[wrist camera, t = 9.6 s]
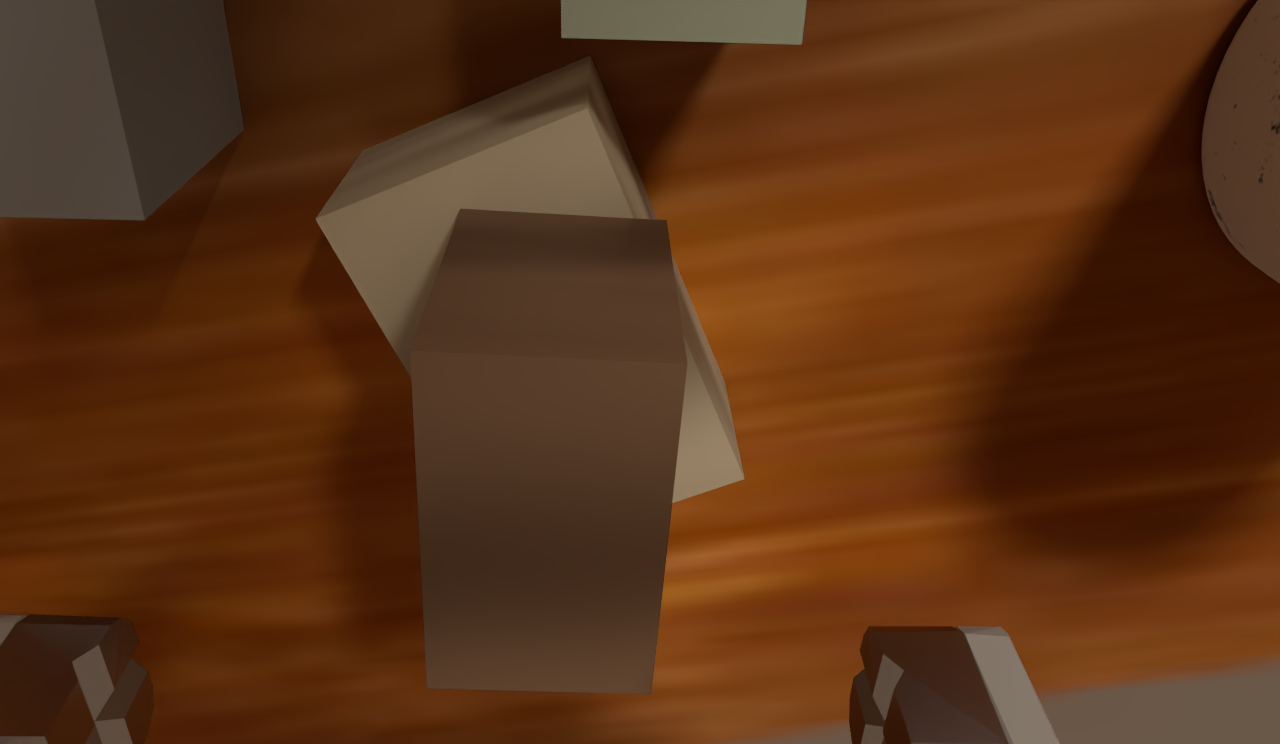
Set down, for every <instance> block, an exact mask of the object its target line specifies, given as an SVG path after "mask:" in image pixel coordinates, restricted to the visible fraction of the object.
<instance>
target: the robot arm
mask: <svg viewBox="0 0 1280 744" xmlns="http://www.w3.org/2000/svg"><path fill="white" fill-rule="evenodd" d="M138 643H139V640H138V638H137V635H136V632H135V629H134V627H133V624H132V621H131V620H128V619H124V618H116V617H89V616H62V615H35V614H30V615H13V614H0V744H144V742H145V739H146V737H147V735H148V731H149V726H150V721H151V717H152V712H153V707H154V705H153V686H152V683H151V679H150V676H149V672H148V670H147V669H145V668H144V667H143V666H141V665H140V664H139V663H138V662H136V661H135V660H134V659H132V658H131V657H132V655H133V653H134V651H135V649H136V647H137V645H138ZM860 653H861V656H862V660H863V664H864V667H865V669H864V670H862V671H861V672H860V673H859V674H858V675H856V676H855V677H854V678H853V683H852V689H851V694H850V704H849V725H850V732H851V739H852V744H1060V743H1059V741H1058V739H1057V737H1056V735H1055V732H1054V730H1053V728H1052V726H1051V724H1050V722H1049V720H1048V718H1047V715H1046V713H1045V711H1044V709H1043V707H1042V705H1041V703H1040V701H1039V698H1038V696H1037V694H1036V692H1035V690H1034V688H1033V686H1032V684H1031V681H1030V679H1029V677H1028V675H1027V673H1026V671H1025V669H1024V667H1023V664H1022V662H1021V660H1020V658H1019V656H1018V654H1017V652H1016V650H1015V648H1014V645H1013V643H1012V641H1011V639H1010V637H1009V635H1008V633H1007V632H1006V631H1004V630H1003V629H1002V628H1001V627H955V628H954V627H952V626H869V627H868V629H867V630H866V632H865V633H864V635H863V639H862V644H861V648H860Z"/></svg>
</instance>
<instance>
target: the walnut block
mask: <svg viewBox="0 0 1280 744" xmlns="http://www.w3.org/2000/svg"><path fill="white" fill-rule="evenodd" d="M410 364H411V384H412V404H413V423H414V443H415V463H416V483H417V503H418V523H419V543H420V562H421V582H422V602H423V622H424V642H425V662H426V682H427V688H428V689H465V690H503V691H540V692H578V693H615V694H651V690H652V681H653V672H654V663H655V654H656V645H657V636H658V627H659V618H660V609H661V599H662V590H663V581H664V572H665V563H666V554H667V545H668V536H669V527H670V518H671V509H672V500H673V491H674V482H675V473H676V464H677V455H678V446H679V437H680V428H681V418H682V409H683V400H684V391H685V382H686V373H687V357H686V350H685V344H684V337H683V330H682V323H681V316H680V310H679V303H678V296H677V289H676V282H675V275H674V269H673V262H672V255H671V248H670V241H669V235H668V228H667V221H666V220H653V219H636V218H617V217H599V216H581V215H564V214H546V213H529V212H511V211H493V210H476V209H460V211H459V214H458V217H457V220H456V223H455V225H454V228H453V231H452V234H451V237H450V239H449V242H448V245H447V248H446V251H445V253H444V256H443V259H442V262H441V265H440V268H439V270H438V273H437V276H436V279H435V282H434V284H433V287H432V290H431V293H430V296H429V298H428V301H427V304H426V307H425V310H424V312H423V315H422V318H421V321H420V324H419V327H418V329H417V332H416V335H415V338H414V341H413V343H412V346H411V349H410Z"/></svg>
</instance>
